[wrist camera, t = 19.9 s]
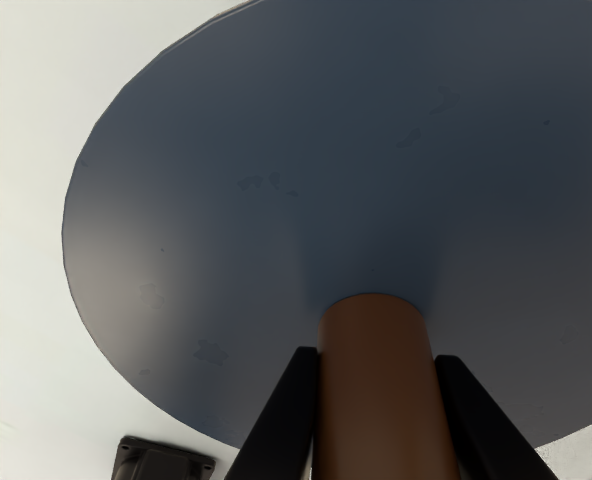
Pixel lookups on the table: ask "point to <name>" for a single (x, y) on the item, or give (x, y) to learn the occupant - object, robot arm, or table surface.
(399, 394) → the pot lid
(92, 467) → the table surface
